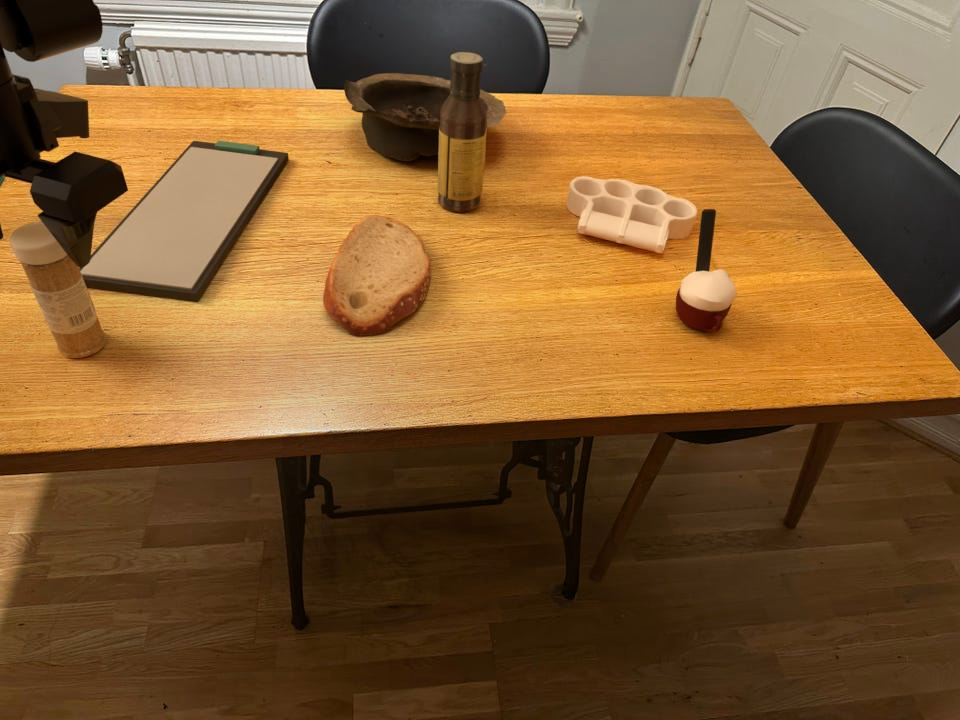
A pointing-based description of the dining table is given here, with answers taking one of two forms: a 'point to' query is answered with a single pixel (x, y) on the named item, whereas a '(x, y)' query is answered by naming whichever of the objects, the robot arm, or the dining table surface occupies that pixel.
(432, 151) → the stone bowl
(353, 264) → the slice of bread
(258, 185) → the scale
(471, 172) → the sauce bottle
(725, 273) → the cocoa
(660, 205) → the knuckle duster
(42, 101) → the robot arm
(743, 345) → the dining table surface
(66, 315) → the sprinkles bottle
